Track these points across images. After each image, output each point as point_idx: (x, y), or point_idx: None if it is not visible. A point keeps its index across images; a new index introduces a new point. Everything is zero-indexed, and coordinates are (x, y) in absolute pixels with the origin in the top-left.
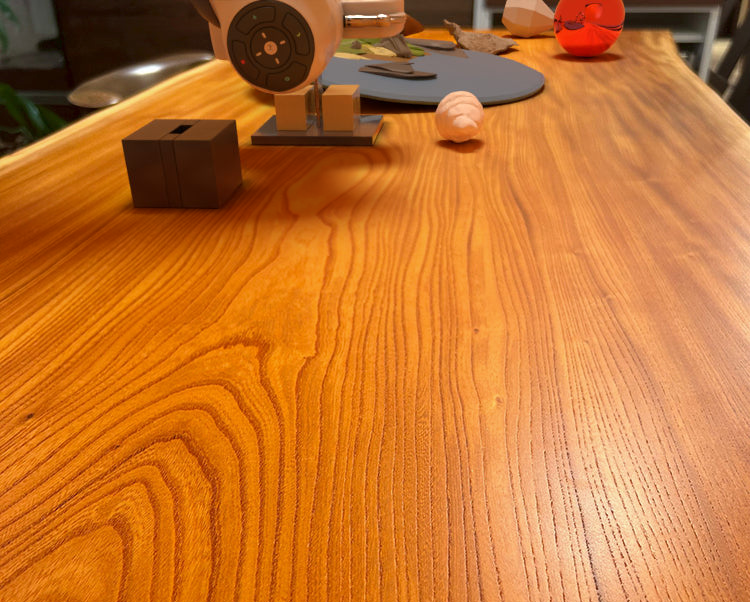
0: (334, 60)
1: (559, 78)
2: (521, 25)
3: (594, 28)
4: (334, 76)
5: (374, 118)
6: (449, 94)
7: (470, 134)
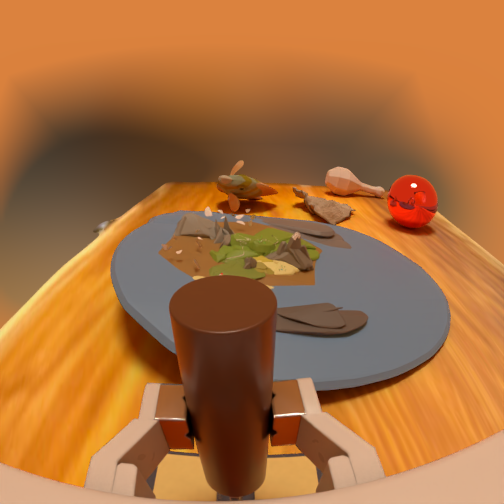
0: None
1: (429, 268)
2: (341, 188)
3: (425, 212)
4: None
5: None
6: None
7: None
